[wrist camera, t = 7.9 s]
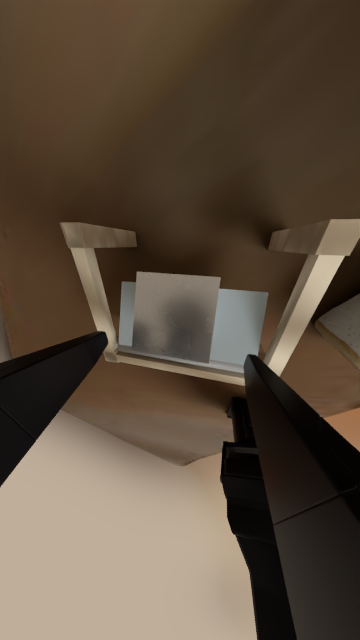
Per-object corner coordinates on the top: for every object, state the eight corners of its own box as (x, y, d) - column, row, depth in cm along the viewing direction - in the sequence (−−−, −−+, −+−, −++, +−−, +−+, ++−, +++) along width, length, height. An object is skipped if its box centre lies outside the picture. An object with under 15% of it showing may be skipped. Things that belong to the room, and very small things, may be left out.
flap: (250, 371, 14) (254, 377, 12) (124, 349, 16) (117, 352, 15) (263, 293, 13) (269, 292, 12) (127, 283, 15) (121, 281, 14)
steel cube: (208, 342, 13) (208, 363, 8) (158, 334, 14) (131, 349, 9) (215, 289, 12) (220, 277, 8) (162, 284, 13) (136, 271, 8)
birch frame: (252, 342, 20) (272, 393, 13) (137, 326, 23) (106, 360, 16) (290, 232, 13) (369, 219, 7) (123, 231, 17) (59, 222, 10)
